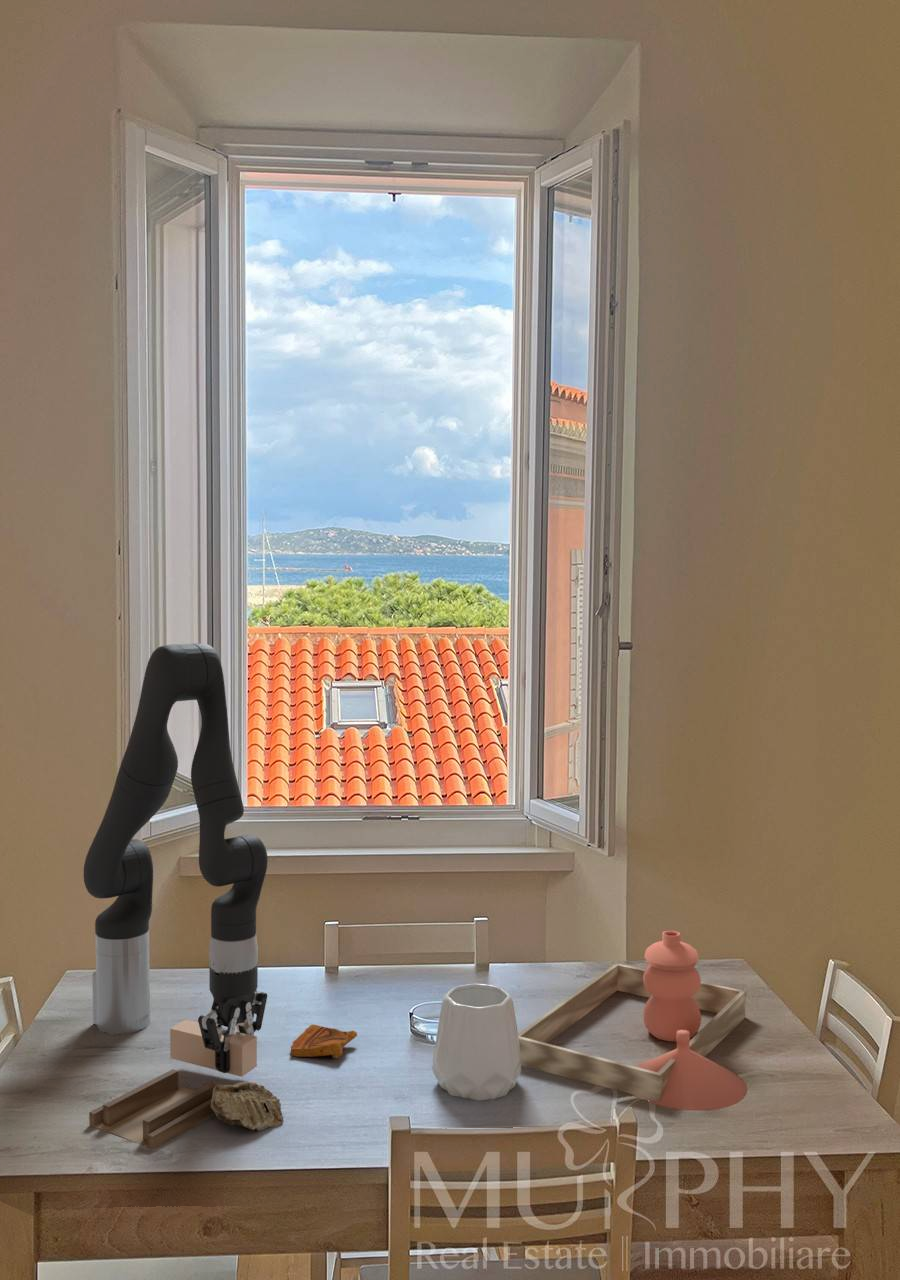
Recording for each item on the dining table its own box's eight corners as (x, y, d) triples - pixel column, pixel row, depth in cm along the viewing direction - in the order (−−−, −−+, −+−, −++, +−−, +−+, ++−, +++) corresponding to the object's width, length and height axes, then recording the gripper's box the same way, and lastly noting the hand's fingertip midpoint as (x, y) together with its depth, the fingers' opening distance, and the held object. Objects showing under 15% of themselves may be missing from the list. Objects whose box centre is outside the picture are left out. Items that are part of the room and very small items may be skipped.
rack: (89, 1130, 176) (89, 1104, 175) (169, 1088, 189) (168, 1063, 189) (152, 1155, 169) (152, 1128, 168) (230, 1109, 182) (230, 1084, 182)
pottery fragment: (341, 1046, 197) (286, 1030, 200) (337, 1073, 198) (281, 1056, 200) (361, 1025, 207) (308, 1009, 209) (357, 1050, 207) (304, 1034, 210)
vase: (419, 1076, 194) (419, 985, 193) (498, 1061, 200) (499, 973, 198) (453, 1115, 181) (454, 1018, 180) (536, 1098, 187) (538, 1004, 185)
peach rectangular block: (170, 1058, 194) (170, 1028, 193) (185, 1048, 198) (185, 1019, 197) (242, 1076, 188) (242, 1046, 188) (256, 1066, 192) (256, 1036, 191)
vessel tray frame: (512, 1066, 198) (513, 1036, 198) (615, 988, 232) (615, 963, 232) (659, 1106, 184) (660, 1075, 184) (745, 1017, 219) (746, 991, 218)
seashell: (275, 1157, 175) (285, 1099, 184) (285, 1127, 172) (295, 1070, 180) (200, 1141, 174) (214, 1084, 183) (208, 1110, 170) (222, 1054, 179)
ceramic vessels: (761, 1120, 180) (761, 998, 179) (620, 1117, 182) (618, 996, 181) (729, 1027, 215) (728, 925, 213) (610, 1025, 217) (609, 924, 215)
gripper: (246, 944, 197) (246, 1043, 199) (183, 970, 185) (184, 1076, 187) (281, 953, 193) (280, 1055, 195) (219, 981, 181) (219, 1089, 183)
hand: (233, 1065), depth 191 cm, fingers closed on peach rectangular block, 4 cm apart
